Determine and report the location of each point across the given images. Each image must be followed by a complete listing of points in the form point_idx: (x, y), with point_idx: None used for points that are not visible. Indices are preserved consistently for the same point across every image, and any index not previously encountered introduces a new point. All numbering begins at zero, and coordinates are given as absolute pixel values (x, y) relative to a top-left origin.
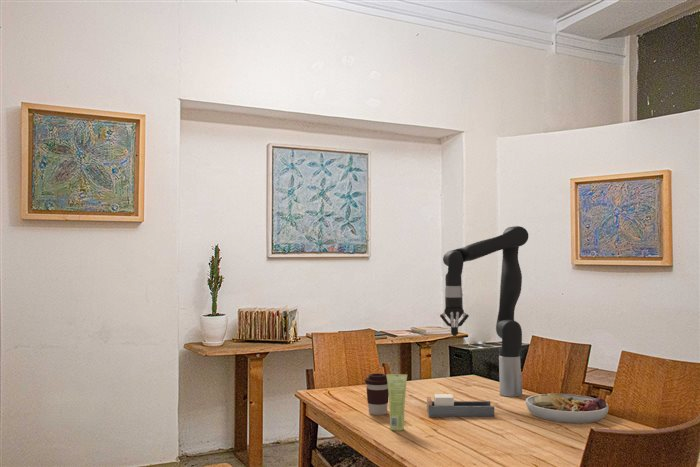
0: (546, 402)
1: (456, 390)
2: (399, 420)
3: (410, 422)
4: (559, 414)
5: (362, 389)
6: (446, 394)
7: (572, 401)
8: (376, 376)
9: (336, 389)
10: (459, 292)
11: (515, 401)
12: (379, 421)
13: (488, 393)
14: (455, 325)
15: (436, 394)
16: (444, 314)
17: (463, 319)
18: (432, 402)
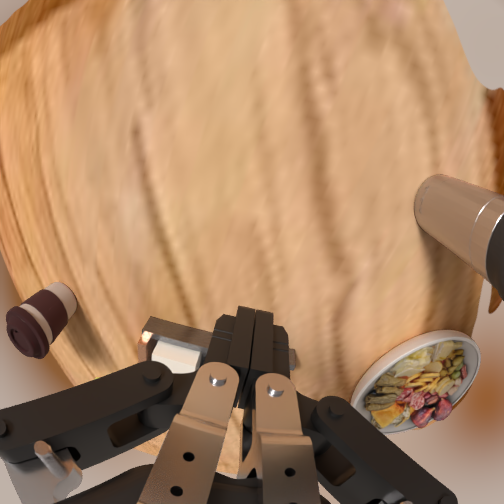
0: (387, 400)
1: (309, 91)
2: None
3: (119, 365)
4: None
5: (46, 62)
6: (181, 364)
7: (437, 385)
8: (22, 353)
9: (9, 70)
10: None
11: (406, 279)
12: (74, 343)
13: (393, 166)
14: (243, 430)
15: (157, 357)
16: (53, 497)
17: (345, 500)
18: (154, 338)
